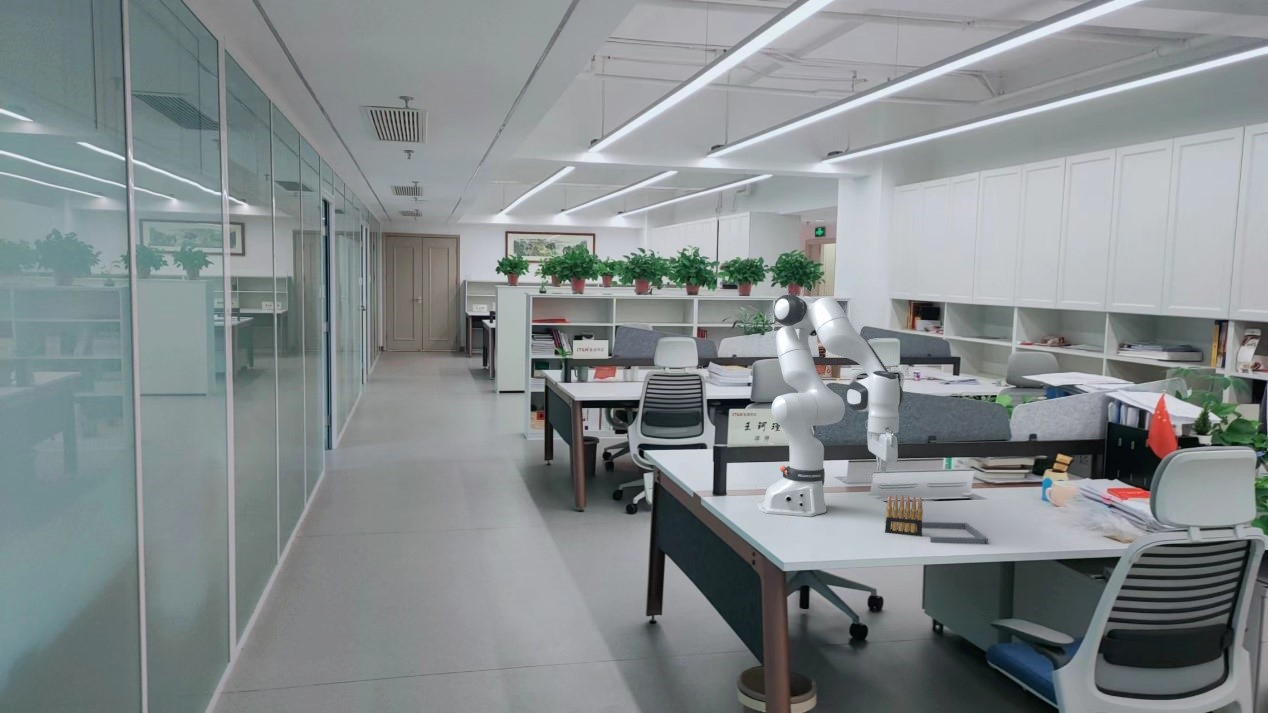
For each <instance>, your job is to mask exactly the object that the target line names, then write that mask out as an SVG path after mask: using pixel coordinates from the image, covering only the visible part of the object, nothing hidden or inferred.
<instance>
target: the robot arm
mask: <svg viewBox="0 0 1268 713" xmlns="http://www.w3.org/2000/svg"><path fill="white" fill-rule="evenodd" d="M772 312H773V317H774V319H775V321H776V322H778V323H779V324H781V325H782V327H781V328H779V329H778V330H777V332H776V335H775V343H776V345H775V346H776V352H777V358H778V362H779V366H780V370H781V374H782V378H783V380H784V383H785V384H787V385H789V386H790V387H792V388H794V389H795V390H796V391H797V392H789V393H784V394H780V395H778V396H776V397H775V398H774V399H773V401H772V404H771V409H770V410H771V416H772V418H773V420H774V421H775V423H776V424H777V425H779V427H780V428H782V430H783V431H784V433H785V435H786V437H787V439H788V440H787V441H788V447H789V450H788V451H789V452H788V453H789V460H788V461H789V463H788V464H789V465H787V466H785V465H781V466H780V468H779V470H780V471H781V472H782V477H781V478H780V479H778V480H776V482H773V483H772V484H771V485H770V486H768V487H767V489H766V491H765V495H764V499H763V500H762V499H761V500H760V501H758V502H757V508H758V510H759V511H761V512H762V513H765V514H770V515H773V514H774V515H783V516H785V515H786V516H796V517H797V516H798V517H799V516H801V517H813V516H814V517H815V516H817V515H820V514H824V513H826V512H827V507H826V501H825V494H824V485H825V478H826V476H825V475H826V472H825V468H824V462H825V461H824V459H825V457H824V456H825V447H824V445H823V443H822V441H821V440H820V439H819V438H817V437H815V436H813V435H812V431H811V427H815V426H816V427H818V426H828V425H833V424H836V423H839V422H840V421H842V420H843V418H844V415H845V413H846V406H845V405H846V404H847V405H848V407H849V408H850V409H851V410H853V411H855V412H868V414H867V415H868V416H867V417H868V418H867V419H866V421H865V429H867V430H866V432H867V433H866V438H867V439H866V440H867V450H868V451H869V452H870V453H871V454H873V455H874V456H875V457H876V458H875V459H876V464H877V471H878V472H879V473H882V474H885V473H887V466H888V463H896V462H897V461H898V457H899V453H898V446H899V445H898V438H897V436H896V435H895V434H898V433H899V429H900V428H899V427H900V426H899V425H900V414H899V408H900V406H901V405H902V403H903V400H904V390H903V388H902V386H901V384H900V381H899V378H898V375H897V374H896V373H893V372H891V371H889V370H888V368H886V366H885V364H884V363H883V361H882V360H881V358H880V357H879V356H878V354H877V353H876V351H875V349H874V348H873V347H872V345H871V344H870V343H869V342H868V341H867V340H866V339H865V338H863V337H862V336H861V335H860V334H859V333H858V332H857V330H856V329H855V328H854V327H853V325H852V324H851V322H850V319H849V317H848V316H847V314H846V312H845V311H844V309H843V308H842V306H841V305H840V304H839V302H838V301H837V300H836V299H835V298H833V297H830V296H827V297H826V296H825V297H820V298H818V299H816V298H815V297H810V296H806V295H805V296H804V295H795V294H784V295H781V296H780V297H778V298H777V299H776V301H775V303H774V306H773V311H772ZM810 336H811V337H815V336H817V337H818V340H819V342H820V343H821V345H822V347H823V348H824V349H825V351H827V352H828V353H830V354H832V355H834V356H835V355H836V356H839V357H843V358H847V359H849V360H851V361H853V362H856V363H857V364H859V365H860V366H861V367H862V368H863V370H864V372H865V374H866V375H867V377H865V378H862V379H859V380H855V381H851V383H849V385H848V386H847V388H846V391H845V400H846V404H845V402H844V399H843V398H842V396H840V395H839V394H837V393H835V392H834V391H833V390H831V389H830V388H829V387H828V386H827V385H826V383H824V380H823V379H822V378H821V377H820V375H819V372H818V371H817V368H816V365H815V361H814V358H813V354H812V350H811V348H810V343H809V337H810Z"/></svg>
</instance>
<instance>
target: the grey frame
mask: <svg viewBox="0 0 1268 713" xmlns="http://www.w3.org/2000/svg"><path fill="white" fill-rule="evenodd" d="M922 529H944V530H945V529H949V530H950V529H951V530H965V531H966V532H968V533H969V534H970V535H972V536H973V537H969V536H968V537H967V536H939V535H938V536H937V535H936V536H933V535H932V536H929V542H930V543H931V544H932V543H935V544H937V543H938V544H963V545H964V544H965V545H966V544H967V545H968V544H969V545H970V544H971V545H988V544H989V538H988V537H987V536H986V535H984V534H982V533H981V532H980V531H978V530H977V529H976V528H975V527H973V526H971V524H969V523H968V522H953V521H952V522H951V521H950V522H949V521H946V522H945V521H943V522H942V521H941V522H940V521H935V522H934V521H922Z"/></svg>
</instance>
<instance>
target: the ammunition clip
mask: <svg viewBox="0 0 1268 713" xmlns="http://www.w3.org/2000/svg"><path fill="white" fill-rule="evenodd" d="M904 498H905V497H904V496H903V495H901V496H900V499H899V500H898V495H897V494H895V496H894V498H893V500H892V495H891V494H890V493H889V494H888V497H887V503H886V510H885V529H884V533H885V534H893V535H897V534H898V535H906V536H913V537H923V528H922V522H923V516H924V515H923V513H924V511H923V499H922V496H920V497H919V499H918V503H917V499H916V496H913V498H912V502H911V499H910V495H907V497H906V499H904ZM892 501H893V504H892Z"/></svg>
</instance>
